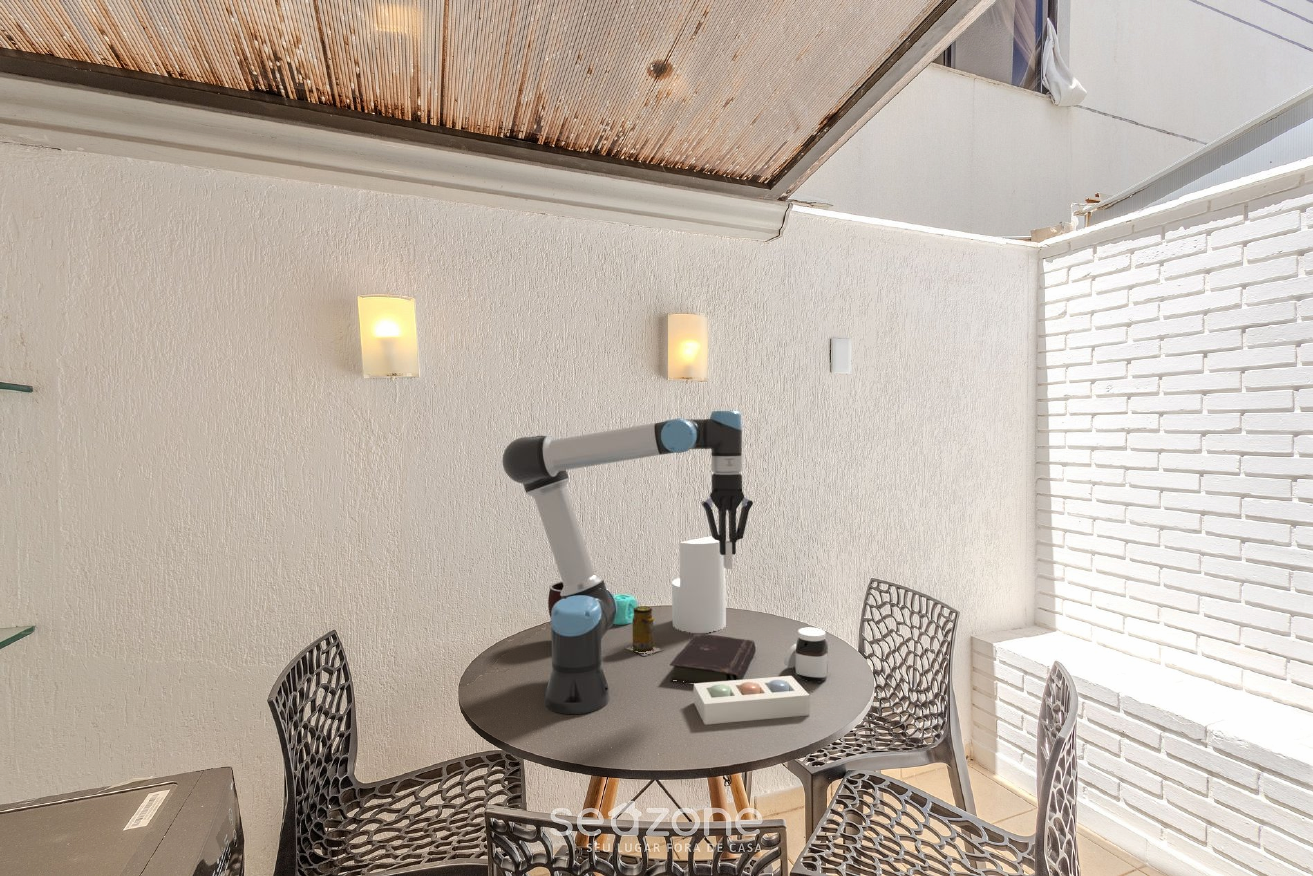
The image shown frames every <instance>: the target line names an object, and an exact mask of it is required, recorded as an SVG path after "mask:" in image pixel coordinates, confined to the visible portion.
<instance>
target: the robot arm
mask: <svg viewBox="0 0 1313 876" xmlns="http://www.w3.org/2000/svg"><path fill="white" fill-rule="evenodd" d="M709 417H710V418H704V419H703V418H702V419H700V418H699V419H698V418H697V419H696V418H695V419H693V418H691V419H690V418H688V419H685V418H681V417H680V418H674V419H666V420H665V421H660V422H654V423H648V424H642V425H641V424H640V425H637V426H636V425H635V426H629V427H624V428H617V429H612V430H607V431H600V432H598V431H597V432H593V433H588V434H583V435H582V434H581V435H576V436H569V437H563V438H557V439H555V438H552V437H550V436H546V435H535V436H524V437H523V436H521V437H519V438H516V439H515V440H513V441H512V442H510V443H508V445H507V446H506V448H505V449H504V452H503V454H502V459H501V463H502V466H503V467H502V468H503V471H504V472H505V474H506V475H507V477H509V479H511V480H512V481H514V482H516V483H519V484H522V485H523V488H524V492H525V494H526V495H528V496H529V497H532V498H533V499H534V502H535V504H536V507H537V511H538V513H539V516H540V519H541V523H542V525H543V528H544V531H545V534H546V537H547V540H548V543H549V546H550V549H551V551H552V555H553V558H554V561H555V564H556V566H557V569H558V573H559V576H560V579H561V582H563V585H564V586H563V589H562V591H561V594H560V595H561V598H562V599H561V600H560V601H558V602H557V603H556V604H555V605H554V606H553V608H552V613H551V618H550V630H551V633H550V634H551V672H550V675H549V679H548V683H547V687H546V690H545V692H544V704H545V706H546V708H548V709H549V710H550V711H552V712H555V713H559V714H564V715H579V714H587V713H588V714H589V713H591V712H594V711H598V710H599V709H601V708H604V707H605V706H606V705H607V704H608V702H609V701H610V687H609V685H608V681H607V678H606V676H605V673H604V670H603V666H602V638H603V637H604V636H605V635H606V633H607V632H608V631H609V630H610V629H611V627H612V626H613V625H614V624H613V623H614V620H615V617H616V614H617V603H616V600H615V597H614V596H613V595H614V594H613V593H612V591H610V589H608V588H607V586H606V583H605V581H604V578H603V577H601V576H600V575H599V574H596V572H595V568H594V566H593V564H592V560H591V558H590V554H589V551H588V548H587V546H586V542H585V541H584V537H583V534H582V533H583V532H581V527H580V525H579V523H578V519H577V516H576V513H575V510H574V507H573V504H572V502H571V499H570V496H569V492H568V490H567V484H568V482H569V481H570V477H569V475H568V471H569V470H574V469H581V468H588V467H592V466H593V467H595V466H600V465H607V464H614V463H619V462H624V461H631V460H637V459H644V458H648V457H649V458H650V457H655V456H656V457H657V456H661V455H668V454H670V455H671V454H675V453H676V454H680V453H685V452H688V451H689V450H711V453H710V454H711V472H713V473H712V475H711V492H710V494H709V498H708V499H706V500H702V501H701V506H702V508H703V509H704V510H705V514H706V519H707V522H708V526H709V531H710V534H711V535H710V536H712V538H714V539H715V540H718V541H719V546H720V554H721V555H723V561H724V567H725V570H732V569H733V555H736V553H737V549H736V548H737V542H738V540H743V538H744V535H745V530H746V525H747V522H748V518H749V513H750V509H751V508H752V506H753V505H754V501H753V500H750V499H748V498H747V497H745V493H744V492H743V474H741V472H742V471H743V462H742V461H743V458H742V457H743V456H742V454H743V453H742V452H743V451H742V450H743V449H742V447H743V446H742V445H743V444H742V443H743V430H742V429H743V428H742V427H743V426H742V414H741V413H740V412H739V411H737V410H713V411H711V412H710V416H709ZM713 504H714V506H715V507H716V509H717V510H718V511H717V513H718V526H717V524H716V520H715V515H714V513H713V509H712V508H713ZM740 505H741V510H740V514H739V519H738V523H737V509H738V508H739V506H740ZM727 512H728V539H729V540H727ZM717 527H718V528H717Z"/></svg>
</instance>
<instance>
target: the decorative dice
mask: <svg viewBox="0 0 1313 876" xmlns="http://www.w3.org/2000/svg"><path fill="white" fill-rule="evenodd" d="M613 596H614V597H615V600H616V603H617V614H616V617H615V620H614V623H613V625H617V626H623V625H624V626H625V625H630V624H633V617H634V608H635V607H638V606H639V605H638V604H639V603H638V602H637V600H636V599H635V597H634V596H633V595H630V594H624V593H623V594H613ZM629 623H630V624H629Z"/></svg>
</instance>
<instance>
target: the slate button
mask: <svg viewBox="0 0 1313 876" xmlns="http://www.w3.org/2000/svg"><path fill="white" fill-rule="evenodd" d="M770 691H771V692H772V693H774V692H786V691H789V683H788V682H786V681H783V680H773V681H771V682H770Z"/></svg>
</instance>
